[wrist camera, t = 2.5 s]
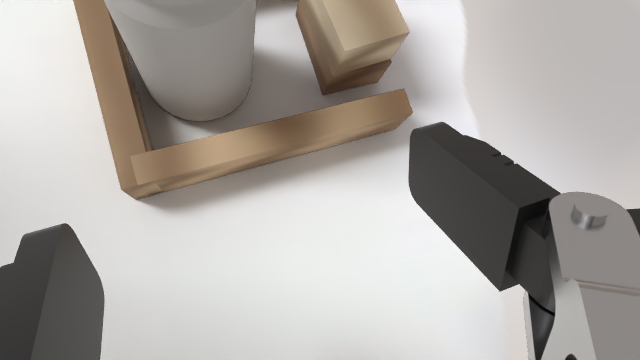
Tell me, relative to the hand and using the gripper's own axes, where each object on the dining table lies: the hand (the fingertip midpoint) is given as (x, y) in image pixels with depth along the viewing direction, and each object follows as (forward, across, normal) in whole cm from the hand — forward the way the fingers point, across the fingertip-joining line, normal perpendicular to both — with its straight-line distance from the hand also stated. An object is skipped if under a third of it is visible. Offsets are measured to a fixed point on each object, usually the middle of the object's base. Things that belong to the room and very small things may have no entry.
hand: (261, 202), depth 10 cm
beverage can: (+19, 0, +3) cm, 19 cm away
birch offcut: (+17, -9, +1) cm, 19 cm away
